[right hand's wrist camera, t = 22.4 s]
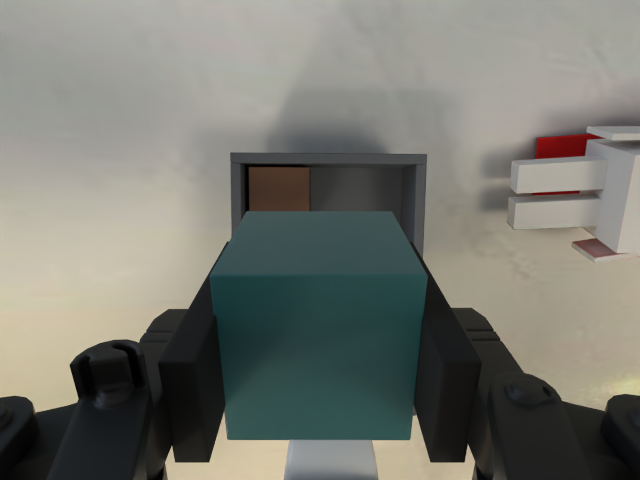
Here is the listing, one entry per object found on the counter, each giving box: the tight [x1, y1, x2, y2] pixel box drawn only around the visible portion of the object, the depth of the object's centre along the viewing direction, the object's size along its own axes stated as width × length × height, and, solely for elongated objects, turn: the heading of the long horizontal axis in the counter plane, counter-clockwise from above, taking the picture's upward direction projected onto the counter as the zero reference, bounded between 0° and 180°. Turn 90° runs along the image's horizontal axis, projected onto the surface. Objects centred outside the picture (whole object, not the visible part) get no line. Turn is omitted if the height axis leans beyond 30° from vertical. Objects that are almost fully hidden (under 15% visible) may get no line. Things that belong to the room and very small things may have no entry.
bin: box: [230, 153, 427, 415], centre depth 36 cm, size 26×16×8 cm, turn 0°
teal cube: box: [210, 211, 428, 440], centre depth 12 cm, size 5×5×5 cm
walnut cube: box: [249, 167, 311, 211], centre depth 36 cm, size 5×5×5 cm
